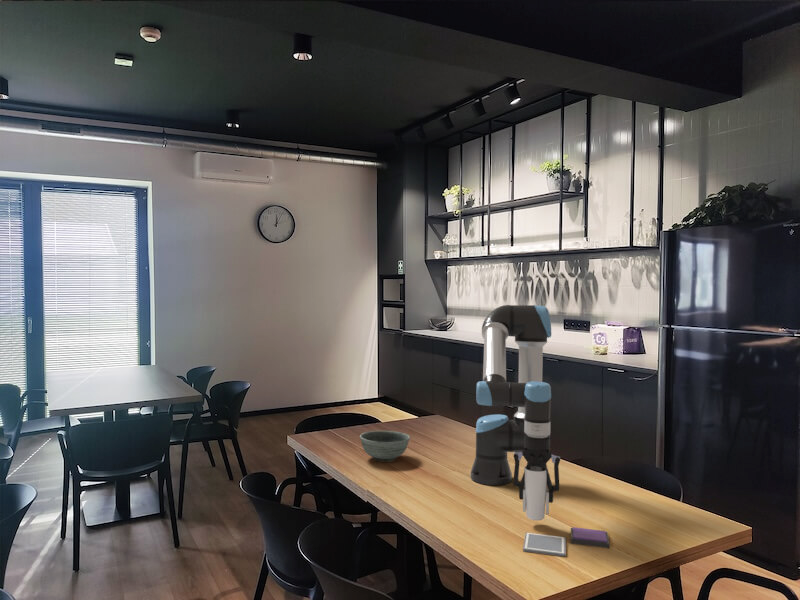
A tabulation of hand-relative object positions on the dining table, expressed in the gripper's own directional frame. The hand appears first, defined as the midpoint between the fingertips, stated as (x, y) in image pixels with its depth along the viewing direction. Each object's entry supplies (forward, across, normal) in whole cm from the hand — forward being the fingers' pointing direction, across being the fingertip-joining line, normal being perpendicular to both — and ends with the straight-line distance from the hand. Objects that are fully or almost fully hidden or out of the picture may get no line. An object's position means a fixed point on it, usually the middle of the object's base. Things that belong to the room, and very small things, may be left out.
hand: (535, 511), depth 171 cm
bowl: (+6, -63, +49) cm, 80 cm away
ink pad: (+4, +15, -6) cm, 17 cm away
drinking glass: (+2, 0, 0) cm, 2 cm away
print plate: (+4, +3, -13) cm, 14 cm away
